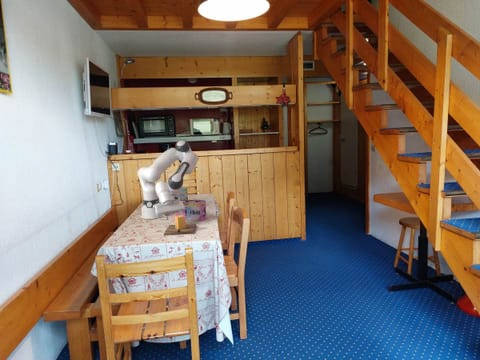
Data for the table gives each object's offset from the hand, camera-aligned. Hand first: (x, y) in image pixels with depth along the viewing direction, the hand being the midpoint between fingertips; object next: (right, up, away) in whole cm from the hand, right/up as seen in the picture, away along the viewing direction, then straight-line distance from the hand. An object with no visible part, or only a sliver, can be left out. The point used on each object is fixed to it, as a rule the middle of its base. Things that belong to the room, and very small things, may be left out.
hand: (173, 218), depth 213 cm
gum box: (+8, -4, +25) cm, 26 cm away
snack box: (-13, +2, +79) cm, 81 cm away
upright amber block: (+6, -6, -6) cm, 10 cm away
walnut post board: (+6, -7, -5) cm, 11 cm away
